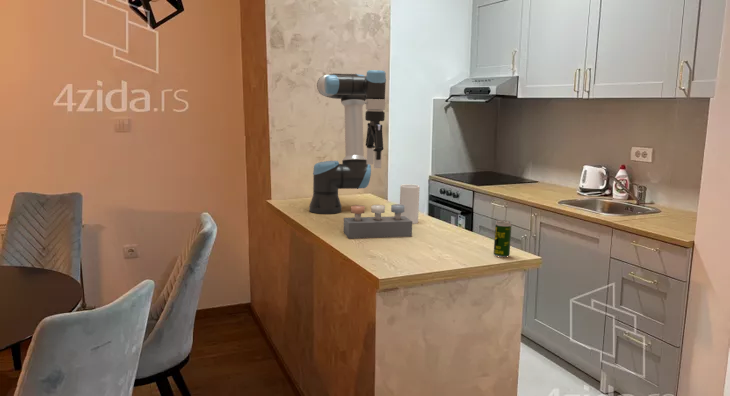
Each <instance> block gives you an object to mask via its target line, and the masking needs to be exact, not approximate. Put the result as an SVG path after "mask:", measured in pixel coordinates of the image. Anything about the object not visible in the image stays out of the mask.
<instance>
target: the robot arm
mask: <svg viewBox="0 0 730 396" xmlns="http://www.w3.org/2000/svg"><path fill="white" fill-rule="evenodd" d="M386 75H387V74H386V72H385V70H380V69H378V70H377V69H375V70H374V69H371V70H367V71H366V75H364V74H359V73H334V72H333V73H328V74H325V75H322V76H320V77H319V78H318V80H317V83H316V89H317V92H318V93H319V94H320V95H322V96H323V97H325V98H329V99H336V100H337V99H338V100H339V99H340V102H341V103H340V104H341V105H342V106H343V108H344V143H345V144H344V145H345V147H344V150H345V153H344V154H345V157H344V158H342V161H341V162H342V163H340V161H339V160H326V161H320V162H317V163H315V164H314V165H313V169H312V170H313V171H312V172H313V173H312V177H313V180H312V181H313V184H312V185H313V187H312V189H313V190H312V191H313V192H312V198H311V200H310V202H309V203H310V204H309V207H308V208H309V212H311V213H314V214H319V215H322V214H323V215H328V214H329V215H331V214H339V213H342V208H343V207H342V204H341V200H340V197H339V190H342V189H343V190H346V189H347V190H348V189H350V190H351V189H352V190H355V189H357V190H358V189H365V188H368V186H369V183H370V181H371V176H372V166H371V165H373V168H374V169H382V152H383V150H385V149H384V139H383V137H384V136H383V124H381V123H380V122H384V121H385V118H386V116H385V110H386V85H387V84H386V83H387V77H386ZM364 105H365V110H366V111H365V121H368V123H367V131H366V138H365V139H366V140H365V147H366V157H365V156H364V153H365V152H364V117H363V116H364V115H363V113H364V111H363V109H364Z"/></svg>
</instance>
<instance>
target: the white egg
mask: <svg viewBox="0 0 730 396" xmlns="http://www.w3.org/2000/svg"><path fill="white" fill-rule="evenodd" d="M370 207H371V208H370V209H371V210H370V211H371V213H373V214H374V217H375V220H381V217H382V214H384V213H385V211H386V206H385V205H383V204H372V205H371V206H370Z"/></svg>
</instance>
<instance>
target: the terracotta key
mask: <svg viewBox="0 0 730 396" xmlns="http://www.w3.org/2000/svg"><path fill="white" fill-rule="evenodd" d="M365 209H366V207H365V205H360V204H355V205H354V204H353V205H351V207H350V213H351V214H354V217H355V221H361V217H362V214H365V213H366V212H365V211H366V210H365Z"/></svg>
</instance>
